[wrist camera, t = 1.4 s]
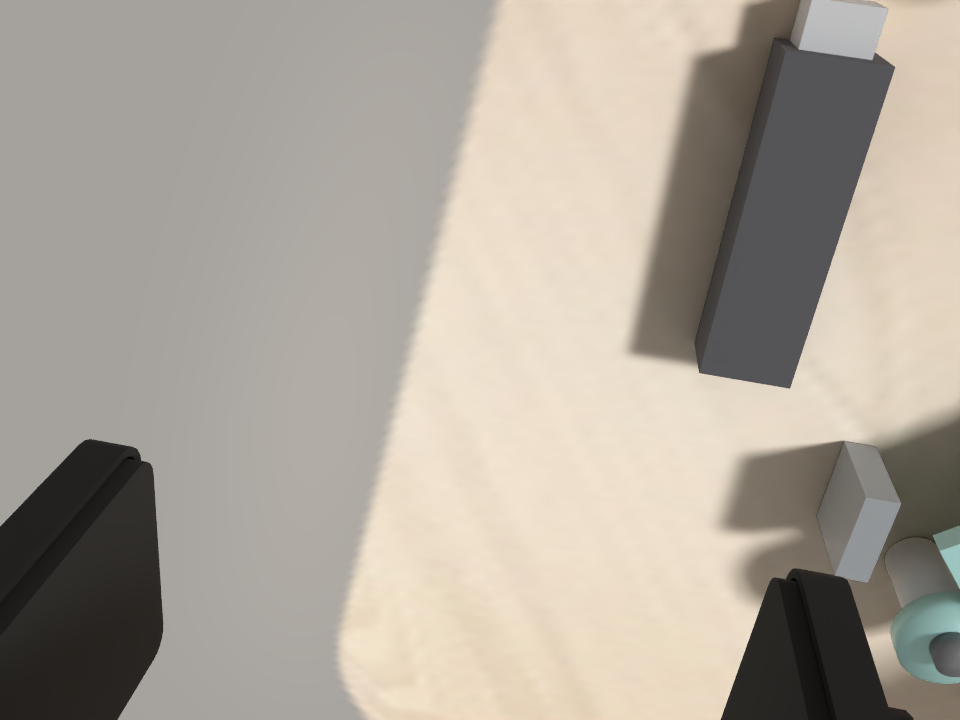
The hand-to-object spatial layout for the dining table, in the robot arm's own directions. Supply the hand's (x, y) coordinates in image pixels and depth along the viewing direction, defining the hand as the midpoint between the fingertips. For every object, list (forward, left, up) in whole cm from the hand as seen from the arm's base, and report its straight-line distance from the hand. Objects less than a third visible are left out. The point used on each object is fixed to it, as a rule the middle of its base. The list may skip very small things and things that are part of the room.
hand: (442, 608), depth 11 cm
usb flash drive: (0, +7, -18) cm, 19 cm away
